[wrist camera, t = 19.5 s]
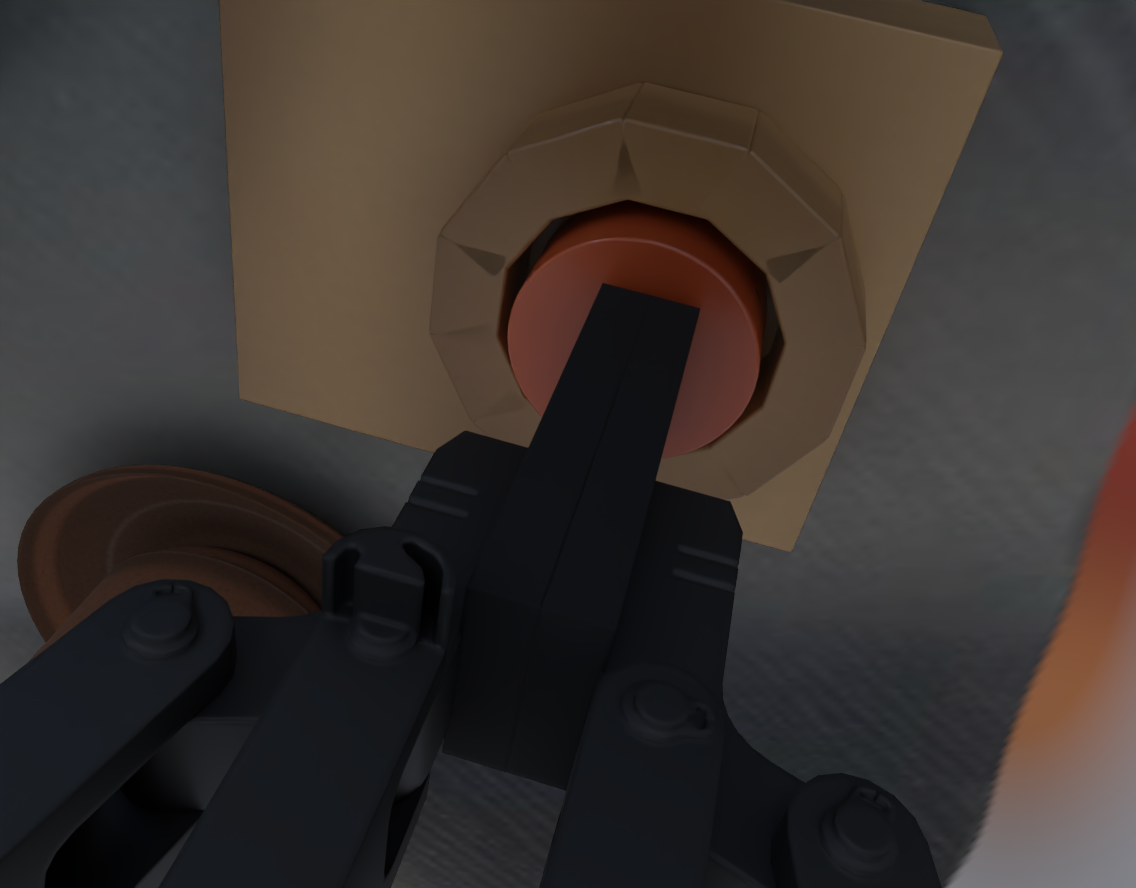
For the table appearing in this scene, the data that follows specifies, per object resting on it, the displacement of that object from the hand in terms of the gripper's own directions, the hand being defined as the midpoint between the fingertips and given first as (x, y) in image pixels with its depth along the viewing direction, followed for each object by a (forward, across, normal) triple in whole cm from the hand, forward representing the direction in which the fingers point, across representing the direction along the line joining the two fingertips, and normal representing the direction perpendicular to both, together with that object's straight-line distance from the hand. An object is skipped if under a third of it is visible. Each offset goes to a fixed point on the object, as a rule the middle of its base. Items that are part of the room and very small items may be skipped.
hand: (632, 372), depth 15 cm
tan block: (+5, -2, 0) cm, 5 cm away
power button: (+2, 0, 0) cm, 2 cm away
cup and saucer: (+5, -9, -14) cm, 17 cm away
